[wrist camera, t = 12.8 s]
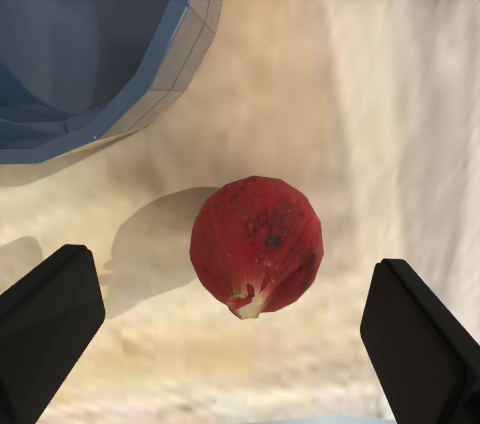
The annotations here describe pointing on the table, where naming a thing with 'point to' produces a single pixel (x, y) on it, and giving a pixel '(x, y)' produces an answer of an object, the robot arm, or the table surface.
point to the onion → (256, 245)
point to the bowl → (93, 69)
